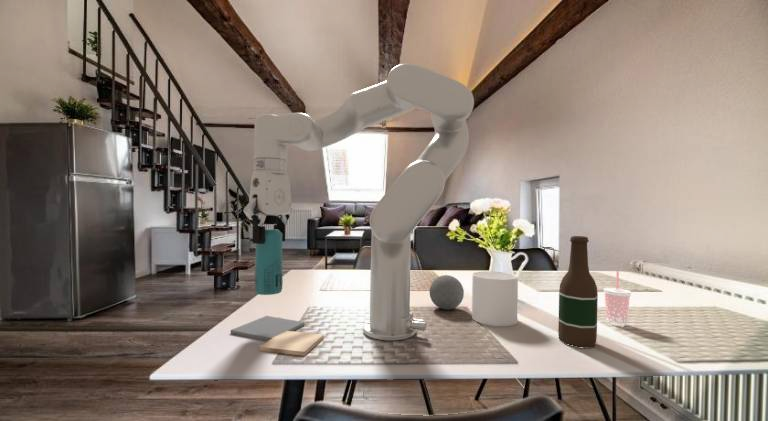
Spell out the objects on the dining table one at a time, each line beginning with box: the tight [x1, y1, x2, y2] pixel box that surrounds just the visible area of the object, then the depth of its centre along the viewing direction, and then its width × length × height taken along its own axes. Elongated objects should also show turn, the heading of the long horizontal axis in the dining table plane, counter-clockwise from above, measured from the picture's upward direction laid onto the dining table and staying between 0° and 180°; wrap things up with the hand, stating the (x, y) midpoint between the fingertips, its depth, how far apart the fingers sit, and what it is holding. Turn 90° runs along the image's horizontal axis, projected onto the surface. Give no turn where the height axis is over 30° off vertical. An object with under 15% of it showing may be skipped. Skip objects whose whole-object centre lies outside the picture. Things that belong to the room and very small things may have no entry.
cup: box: [471, 271, 519, 328], centre depth 96 cm, size 12×12×12 cm
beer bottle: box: [558, 235, 599, 348], centre depth 80 cm, size 8×8×24 cm
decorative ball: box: [429, 274, 465, 311], centre depth 105 cm, size 10×10×10 cm
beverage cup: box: [603, 270, 632, 325], centre depth 94 cm, size 6×6×14 cm
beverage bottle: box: [253, 215, 284, 296], centre depth 86 cm, size 6×7×20 cm
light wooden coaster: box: [259, 330, 325, 357], centre depth 77 cm, size 10×10×1 cm
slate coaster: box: [230, 315, 305, 342], centre depth 86 cm, size 12×12×1 cm
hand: (269, 241), depth 86 cm, fingers closed on beverage bottle, 6 cm apart
